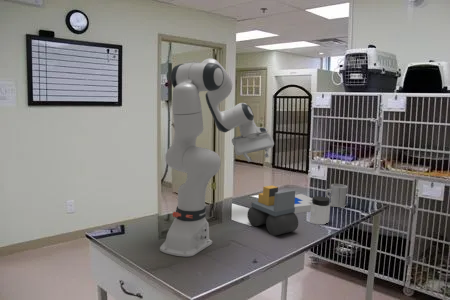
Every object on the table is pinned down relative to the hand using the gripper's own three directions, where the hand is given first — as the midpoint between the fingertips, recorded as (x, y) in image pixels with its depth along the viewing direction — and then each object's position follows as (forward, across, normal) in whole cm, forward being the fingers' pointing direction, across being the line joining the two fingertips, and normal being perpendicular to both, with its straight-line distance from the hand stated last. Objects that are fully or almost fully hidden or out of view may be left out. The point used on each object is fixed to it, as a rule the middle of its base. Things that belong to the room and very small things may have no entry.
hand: (258, 159), depth 174 cm
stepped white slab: (+22, +20, +30) cm, 43 cm away
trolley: (+33, -5, +1) cm, 33 cm away
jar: (+37, +21, +5) cm, 43 cm away
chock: (+22, -4, -2) cm, 22 cm away
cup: (+30, +46, +26) cm, 61 cm away
